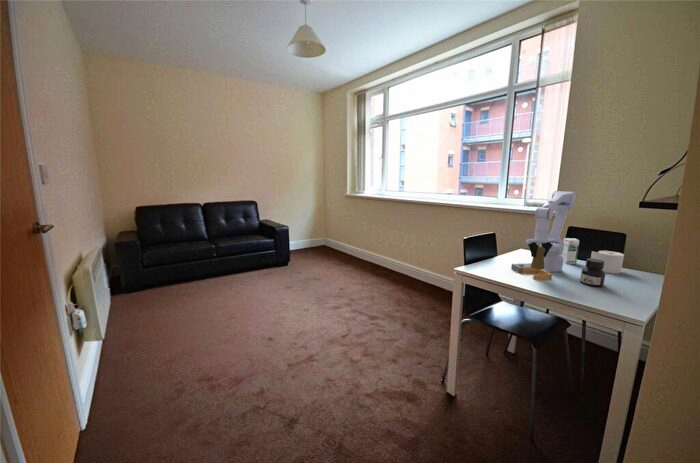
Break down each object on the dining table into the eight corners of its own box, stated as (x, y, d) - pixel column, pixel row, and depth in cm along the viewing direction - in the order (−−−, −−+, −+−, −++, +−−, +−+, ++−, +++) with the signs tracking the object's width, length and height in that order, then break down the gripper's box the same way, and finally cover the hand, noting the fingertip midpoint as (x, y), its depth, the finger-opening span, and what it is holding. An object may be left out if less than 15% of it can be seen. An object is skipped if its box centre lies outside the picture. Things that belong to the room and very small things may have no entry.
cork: (542, 266, 156) (545, 246, 154) (545, 269, 151) (547, 248, 148) (529, 265, 158) (531, 245, 156) (531, 268, 153) (534, 247, 151)
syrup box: (565, 263, 176) (569, 239, 174) (560, 260, 182) (563, 237, 179) (576, 264, 175) (580, 240, 173) (570, 261, 181) (574, 237, 178)
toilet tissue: (626, 273, 159) (629, 255, 157) (603, 273, 159) (606, 255, 157) (609, 267, 169) (612, 250, 167) (588, 267, 169) (591, 250, 167)
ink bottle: (575, 282, 147) (578, 258, 144) (585, 279, 150) (589, 256, 148) (597, 289, 138) (601, 264, 136) (608, 286, 142) (612, 262, 139)
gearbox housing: (531, 268, 167) (532, 261, 167) (553, 278, 151) (554, 271, 150) (511, 268, 166) (511, 262, 166) (531, 279, 150) (532, 271, 149)
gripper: (533, 232, 146) (530, 259, 149) (561, 232, 147) (557, 258, 150) (524, 230, 153) (521, 255, 156) (550, 229, 154) (547, 254, 157)
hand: (538, 256), depth 153 cm, fingers closed on cork, 5 cm apart
